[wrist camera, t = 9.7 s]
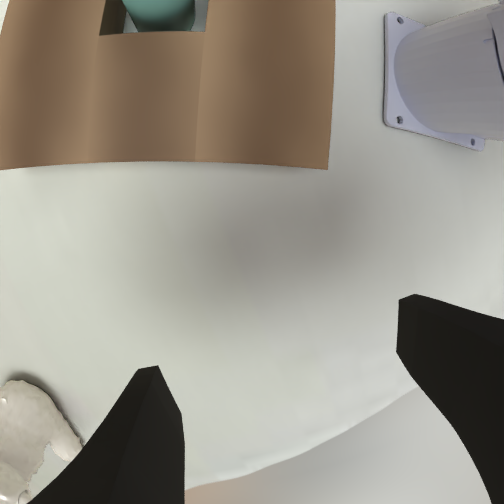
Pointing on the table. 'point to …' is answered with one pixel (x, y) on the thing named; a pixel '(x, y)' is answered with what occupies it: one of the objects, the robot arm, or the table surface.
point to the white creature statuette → (29, 438)
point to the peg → (161, 14)
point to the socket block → (167, 85)
